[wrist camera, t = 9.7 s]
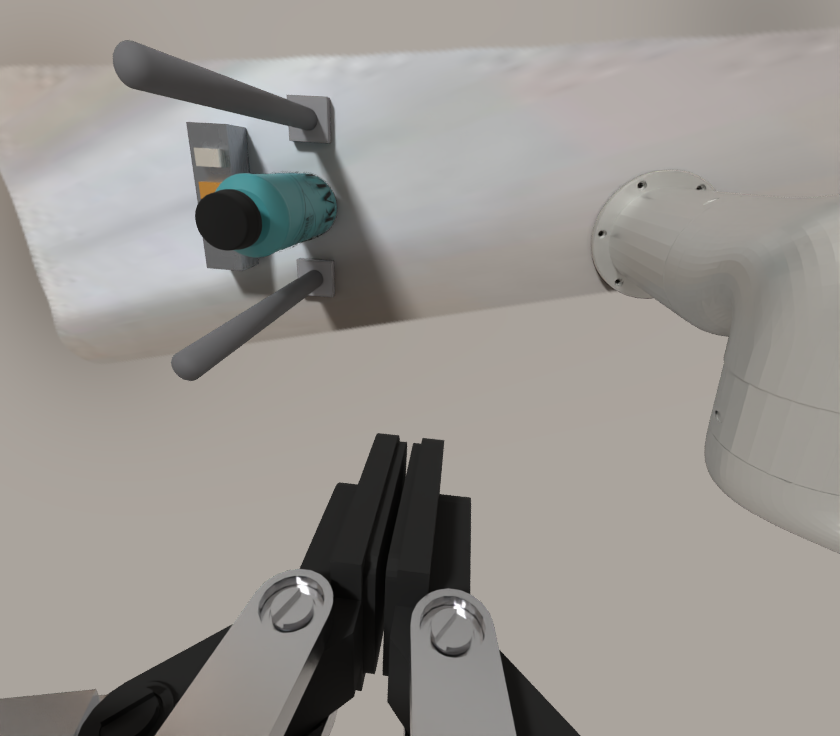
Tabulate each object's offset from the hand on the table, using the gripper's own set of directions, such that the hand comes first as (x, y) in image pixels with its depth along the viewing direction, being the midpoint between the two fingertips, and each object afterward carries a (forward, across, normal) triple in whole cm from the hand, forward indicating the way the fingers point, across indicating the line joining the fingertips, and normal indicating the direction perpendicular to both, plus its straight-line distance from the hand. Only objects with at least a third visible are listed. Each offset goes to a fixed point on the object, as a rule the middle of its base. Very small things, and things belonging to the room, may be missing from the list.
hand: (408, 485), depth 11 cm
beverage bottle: (+41, +16, -3) cm, 44 cm away
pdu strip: (+41, +25, -3) cm, 48 cm away
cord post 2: (+41, +16, +5) cm, 44 cm away
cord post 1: (+41, +16, -11) cm, 45 cm away
